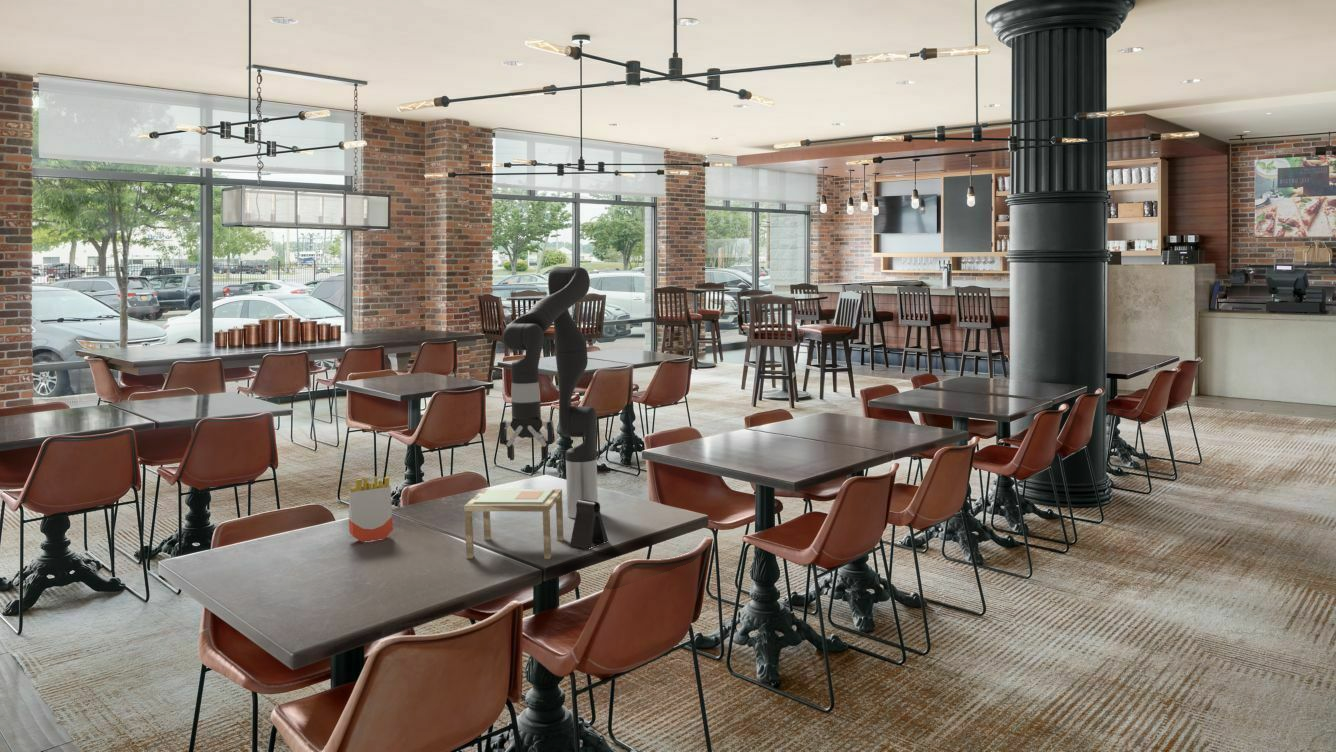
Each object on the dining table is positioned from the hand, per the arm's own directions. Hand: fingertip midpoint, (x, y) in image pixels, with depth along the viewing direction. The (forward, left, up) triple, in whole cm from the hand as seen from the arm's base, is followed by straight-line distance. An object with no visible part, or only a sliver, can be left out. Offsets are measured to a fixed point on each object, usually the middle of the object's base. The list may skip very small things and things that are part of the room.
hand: (528, 459), depth 250 cm
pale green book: (0, -4, -11) cm, 12 cm away
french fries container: (-7, -47, -24) cm, 53 cm away
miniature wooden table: (0, -4, -24) cm, 24 cm away
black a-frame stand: (-4, +15, -24) cm, 29 cm away
